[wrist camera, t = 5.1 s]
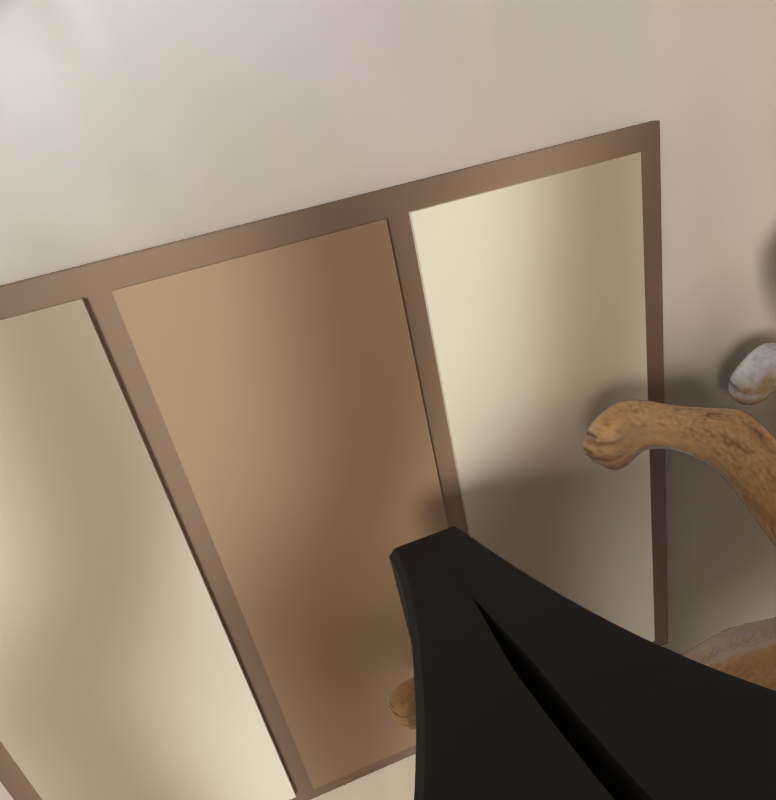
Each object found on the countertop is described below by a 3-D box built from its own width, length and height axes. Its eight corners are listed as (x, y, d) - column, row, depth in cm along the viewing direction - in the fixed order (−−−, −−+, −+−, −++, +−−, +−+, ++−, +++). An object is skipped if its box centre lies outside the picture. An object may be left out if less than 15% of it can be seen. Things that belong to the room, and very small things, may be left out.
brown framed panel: (651, 121, 10) (663, 120, 10) (662, 637, 15) (670, 645, 15) (-298, 361, 8) (-314, 368, 8) (88, 886, 13) (86, 903, 13)
